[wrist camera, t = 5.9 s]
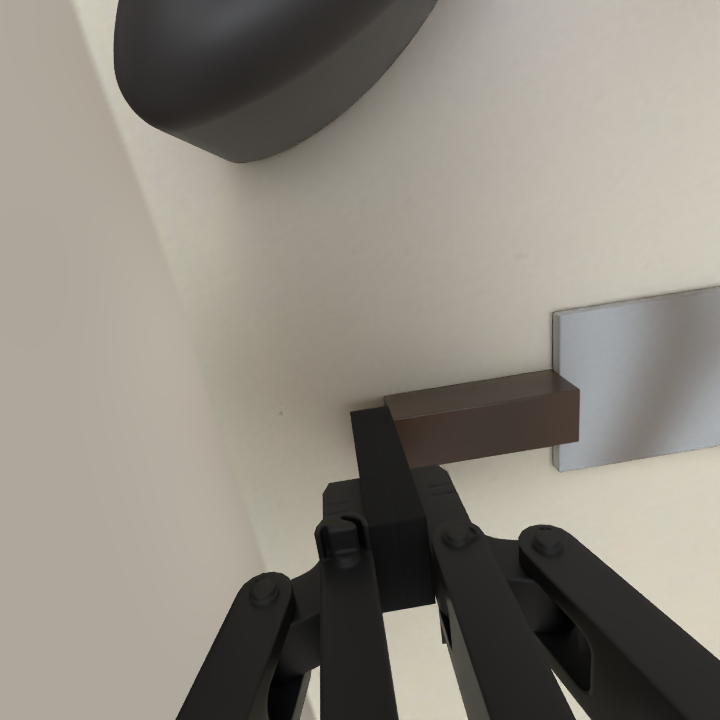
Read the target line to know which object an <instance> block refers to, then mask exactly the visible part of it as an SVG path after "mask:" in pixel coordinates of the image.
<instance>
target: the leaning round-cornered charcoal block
mask: <svg viewBox="0 0 720 720" xmlns="http://www.w3.org/2000/svg"><path fill="white" fill-rule="evenodd" d="M437 1H438V0H119V2H118V8H117V14H116V22H115V31H114V70H115V75H116V79H117V83H118V86H119V88H120V90H121V93H122V95H123V96H124V98H125V100H126V101H127V103H128V104H129V106H130V107H131V108H132V109H133V111H134V112H135V113H136V114H137V115H138V116H139V117H140V118H142V119H143V120H144V121H145V122H147V123H148V124H150V125H151V126H153V127H155V128H157V129H159V130H161V131H163V132H166V133H168V134H170V135H172V136H175V137H177V138H179V139H181V140H183V141H186V142H188V143H190V144H192V145H194V146H197V147H199V148H201V149H203V150H206V151H208V152H210V153H212V154H214V155H217V156H219V157H221V158H223V159H226V160H228V161H231V162H235V163H245V162H251V161H255V160H259V159H263V158H266V157H269V156H272V155H275V154H277V153H280V152H282V151H284V150H286V149H288V148H290V147H292V146H294V145H296V144H298V143H300V142H302V141H303V140H305V139H307V138H308V137H310V136H311V135H313V134H315V133H316V132H318V131H319V130H321V129H322V128H324V127H325V126H326V125H328V124H329V123H330V122H332V121H333V120H334V119H336V118H337V117H338V116H340V115H341V114H342V113H343V112H344V111H346V110H347V109H348V108H349V107H350V106H351V105H353V104H354V103H355V102H356V101H357V100H358V99H359V98H360V97H361V96H362V95H363V94H364V93H365V92H366V91H368V90H369V89H370V88H371V87H372V86H373V85H374V84H375V83H376V82H377V81H378V79H379V78H380V77H381V76H382V75H383V74H384V73H385V72H386V71H387V69H388V68H389V67H390V66H391V65H392V64H393V63H394V61H395V60H396V59H397V58H398V57H399V55H400V54H401V53H402V51H403V50H404V49H405V48H406V46H407V45H408V44H409V43H410V41H411V40H412V38H413V37H414V36H415V34H416V33H417V32H418V30H419V29H420V27H421V26H422V24H423V23H424V21H425V20H426V18H427V17H428V15H429V14H430V12H431V11H432V9H433V8H434V6H435V4H436V3H437Z"/></svg>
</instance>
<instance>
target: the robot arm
mask: <svg viewBox="0 0 720 720" xmlns="http://www.w3.org/2000/svg"><path fill="white" fill-rule="evenodd" d="M350 415H351V422H352V428H353V435H354V442H355V449H356V456H357V463H358V470H359V476H360V478H358V479H352V480H346V481H340V482H334V483H329V484H328V486H327V488H326V489H325V491H324V493H323V520H322V521H321V522H320V523H319V524H318V526H317V527H316V530H315V533H314V535H315V540H316V545H317V549H318V554H319V559H320V561H319V562H318V563H317V564H316V565H315V566H314V567H313V568H312V569H311V570H310V571H308V572H306V573H305V574H303V575H301V576H299V577H296V578H294V579H292V580H290V579H289V578H288V577H287V576H285V575H284V574H283V573H277V572H268V573H262V574H260V575H258V576H255V577H253V578H252V579H250V580H249V581H248V582H247V583H245V584H244V585H243V587H242V588H241V589H240V591H239V592H238V594H237V596H236V598H235V600H234V602H233V604H232V606H231V608H230V610H229V612H228V614H227V616H226V618H225V620H224V622H223V624H222V626H221V628H220V630H219V632H218V634H217V636H216V638H215V641H214V642H213V644H212V646H211V649H210V651H209V653H208V655H207V657H206V659H205V661H204V663H203V665H202V667H201V669H200V671H199V673H198V675H197V677H196V679H195V681H194V684H193V685H192V688H191V689H190V691H189V693H188V695H187V697H186V699H185V702H184V703H183V706H182V708H181V710H180V712H179V714H178V716H177V718H176V720H300V716H301V712H302V708H303V704H304V701H305V697H306V693H307V689H308V685H309V681H310V677H311V670H312V669H314V668H316V667H318V666H320V720H399V718H398V712H397V705H396V699H395V692H394V686H393V679H392V673H391V666H390V660H389V653H388V647H387V640H386V634H385V628H384V621H383V615H382V613H384V612H390V611H396V610H401V609H407V608H413V607H419V606H424V605H430V604H436V601H435V596H436V599H437V603H438V606H439V615H440V625H441V634H442V644H445V643H446V644H447V647H448V651H449V654H450V658H451V661H452V664H453V668H454V671H455V675H456V678H457V682H458V685H459V689H460V692H461V696H462V699H463V703H464V706H465V710H466V713H467V717H468V720H576V719H575V717H574V715H573V713H572V711H571V709H570V707H569V705H568V703H567V701H566V698H565V696H564V694H563V692H562V690H561V688H560V686H559V684H558V682H557V680H556V678H555V676H554V674H553V672H554V673H555V674H556V675H557V677H558V678H559V679H560V680H561V682H562V683H563V684H564V686H565V687H566V688H567V689H568V691H569V692H570V693H571V694H572V696H573V697H574V698H575V700H576V701H577V702H578V703H579V705H580V706H581V707H582V708H583V710H584V711H585V712H586V714H587V715H588V716H589V717H590V719H591V720H720V660H719V659H717V658H716V657H715V656H714V655H713V654H712V653H710V652H709V651H708V650H707V649H706V648H704V647H703V646H702V645H701V644H700V643H699V642H697V641H696V640H695V639H694V638H693V637H691V636H690V635H689V634H688V633H687V632H686V631H684V630H683V629H682V628H681V627H680V626H678V625H677V624H676V623H675V622H674V621H673V620H671V619H670V618H669V617H668V616H667V615H665V614H664V613H663V612H662V611H661V610H660V609H658V608H657V607H656V606H655V605H654V604H652V603H651V602H650V601H649V600H648V599H647V598H645V597H644V596H643V595H642V594H641V593H639V592H638V591H637V590H636V589H635V588H634V587H632V586H631V585H630V584H629V583H628V582H626V581H625V580H624V579H623V578H622V577H621V576H619V575H618V574H617V573H616V572H615V571H613V570H612V569H611V568H610V567H609V566H608V565H606V564H605V563H604V562H603V561H602V560H600V559H599V558H598V557H597V556H596V555H594V554H593V553H592V552H591V551H590V550H589V549H587V548H586V547H585V546H584V545H583V544H581V543H580V542H579V541H578V540H577V539H576V538H574V537H573V536H572V535H571V534H569V533H568V532H566V531H564V530H563V529H561V528H558V527H555V526H551V525H535V526H530V527H528V528H526V529H525V530H523V531H522V532H521V534H520V536H519V537H518V540H505V539H497V538H493V537H490V536H487V535H485V534H484V533H483V532H482V530H481V529H480V528H479V527H478V526H477V525H475V524H473V523H471V521H470V519H469V516H468V514H467V512H466V510H465V508H464V506H463V504H462V502H461V500H460V498H459V495H458V493H457V492H456V489H455V487H454V485H453V484H452V481H451V479H450V476H449V474H448V472H447V471H445V470H444V469H443V468H441V467H440V466H438V465H437V464H436V465H430V466H424V467H418V468H411V469H410V467H409V465H408V462H407V459H406V456H405V453H404V450H403V447H402V444H401V441H400V438H399V435H398V432H397V429H396V426H395V423H394V420H393V418H392V415H391V412H390V409H389V406H383V407H377V408H371V409H365V410H358V411H352V412H350ZM551 669H552V670H553V672H552V670H551Z"/></svg>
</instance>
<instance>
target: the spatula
mask: <svg viewBox="0 0 720 720" xmlns="http://www.w3.org/2000/svg"><path fill="white" fill-rule="evenodd" d="M384 403H385V406H389V409H390V412H391V415H392V418H393V420H394V423H395V426H396V429H397V432H398V435H399V438H400V441H401V444H402V447H403V450H404V453H405V456H406V459H407V462H408V465H409V467H410V469H411V468H418V467H424V466H430V465H436V464H437V465H441V464H447V463H453V462H459V461H465V460H471V459H477V458H483V457H489V456H495V455H502V454H508V453H514V452H520V451H526V450H532V449H538V448H544V447H550V446H553V466H554V467H555V468H556V469H557V470H558V471H559V472H566V471H572V470H578V469H584V468H590V467H596V466H602V465H608V464H614V463H620V462H626V461H632V460H638V459H644V458H650V457H655V456H661V455H667V454H673V453H679V452H685V451H691V450H697V449H703V448H709V447H715V446H720V287H713V288H707V289H700V290H694V291H688V292H681V293H675V294H668V295H662V296H655V297H649V298H642V299H636V300H630V301H623V302H617V303H610V304H604V305H597V306H591V307H585V308H578V309H572V310H565V311H559V312H554V313H553V370H546V371H540V372H533V373H527V374H521V375H515V376H508V377H502V378H496V379H489V380H483V381H477V382H471V383H464V384H458V385H452V386H446V387H439V388H433V389H427V390H420V391H414V392H408V393H402V394H395V395H389V396H384Z"/></svg>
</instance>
